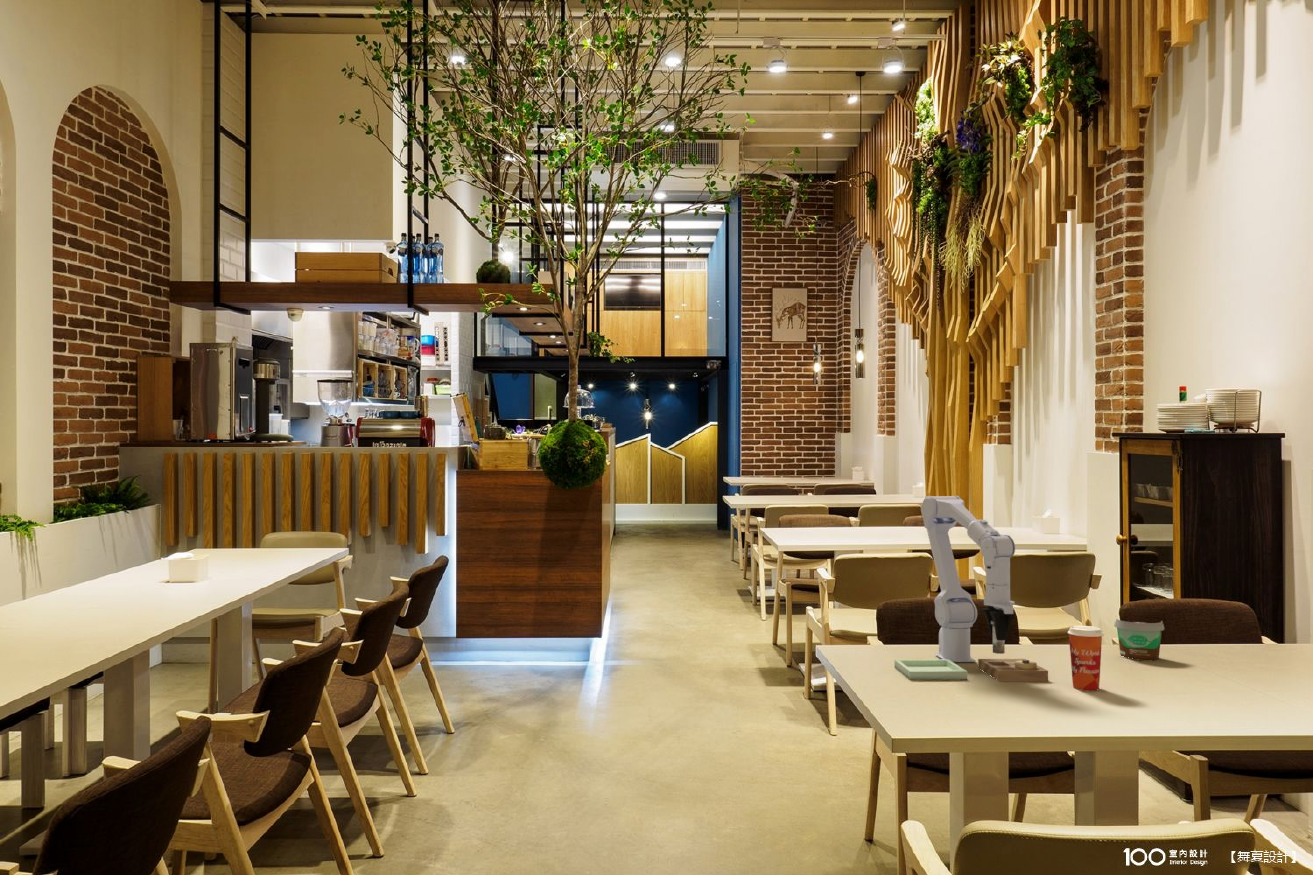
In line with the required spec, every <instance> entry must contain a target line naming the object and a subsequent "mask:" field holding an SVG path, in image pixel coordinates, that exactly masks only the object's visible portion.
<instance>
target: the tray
mask: <svg viewBox="0 0 1313 875" xmlns="http://www.w3.org/2000/svg"><path fill="white" fill-rule="evenodd" d="M894 668H895V669H896V670H897V671H898V672H899V673H900V674H902V675H903V676H904V675H905V676H904V677H906V678H907V679H908V680H910V681H940V680H941V681H947V680H948V681H949V680H950V681H954V680H956V681H961V680H960V679H962V681H963V679H967V680H968V671H967V670H966V669H965V668H963V667H961V666H960V665H958V664H956V662H952V661H950V660H949V659H941V658H939V659H935V658H934V659H931V658H930V659H925V658H924V659H894Z"/></svg>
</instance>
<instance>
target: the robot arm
mask: <svg viewBox="0 0 1313 875" xmlns="http://www.w3.org/2000/svg"><path fill="white" fill-rule="evenodd" d="M965 505H966V504H965V501H964V500H963V499H962V498H961V497H960V496H959V495H951V496H950V495H948V496H947V495H946V496H945V495H943V496H941V495H937V496H933V495H927V496H925V498H924V499H923V500H922V502H921V505H920V506H921V507H920V512H921V516H922V520H923V525H924V528H925V529H926V531H927V532H926V533H927V537H928V541H929V544H930V545H929V546H930V550H931V553H932V557H933V558H932V559H933V562H934V566H935V569H936V574H937V578H938V584H939V587H940V592H939V593H938V595H937V596H936V597H935V598H934V600H933V602H934V617H935V620H936V622H937V623H938V624H939V626H940V629H939V632H938V653H935V656H936V657H938V658H939V659H949V660H950V661H952V662H953V663H977V661H976V660H977V659H975V658H973V657H971V628H972V627H973V624H974V623H975V622H976V620H977V618H978V609H977V606H976V605H975V603H974V601H973V598H972V595H971V594H970V593H969V592H968V591H966V590H965V589H963V588H962V584H961V581H960V577H959V574H958V569H957V565H956V560H955V557H954V554H953V548H952V544H951V540H950V536H949V531H950V530H951V529H953V528H954V527H955V526H956V524H957V523H958V524H959V525H961V526H962V527H964V528H965V530H967V531H966V533H967V536H968V537H969V538H970V539H971V540H972V541H973V542H974V543H975V544H976V545H978V547H980V548H979V549H980V553H981V555H982V558H983V565H984V566H985V597H983V606H987V607H986V608H985V607H984V608H983V607H982V608H981V611H982V613H983V615H984V617H985V620H986V623H987V626H988V631H989V634H990V635H989V636H990V638H993V635H992V625H991V620H993V622H994V626H995V634H996V639H997V640H1004V641H1007V637H1008V633H1009V631H1010V630H1009V628H1010V625H1011V624H1012V620H1013V619H1014V618H1015V615H1016V613H1015V612H1014V606H1015V605H1016V601H1013V600H1011V559H1012V558H1013V557H1014V555H1015V552H1016V545H1015V540H1014V539H1013V538H1012V537H1011V535H1009V534H1000V533H999V531H998V530H997V529H995V528H993V527H992V526H991V525H990V524H989V523H988V522H989V521H988V520H986V519H977V518H976V517H975V516H974V515H973V513H971V512H970V511H969V510H968V508H966V506H965Z"/></svg>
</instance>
